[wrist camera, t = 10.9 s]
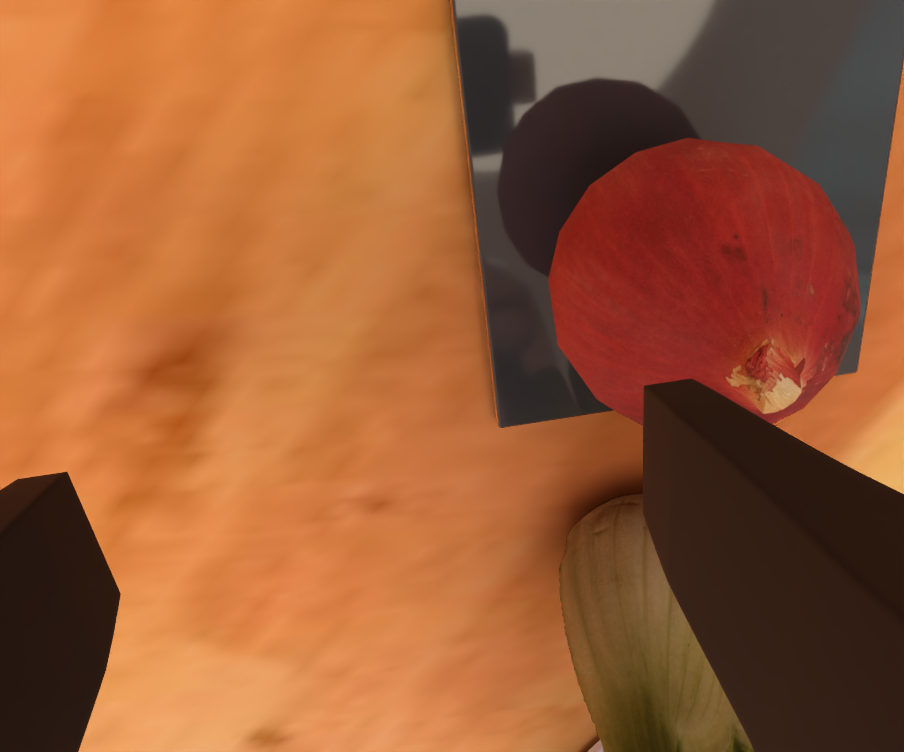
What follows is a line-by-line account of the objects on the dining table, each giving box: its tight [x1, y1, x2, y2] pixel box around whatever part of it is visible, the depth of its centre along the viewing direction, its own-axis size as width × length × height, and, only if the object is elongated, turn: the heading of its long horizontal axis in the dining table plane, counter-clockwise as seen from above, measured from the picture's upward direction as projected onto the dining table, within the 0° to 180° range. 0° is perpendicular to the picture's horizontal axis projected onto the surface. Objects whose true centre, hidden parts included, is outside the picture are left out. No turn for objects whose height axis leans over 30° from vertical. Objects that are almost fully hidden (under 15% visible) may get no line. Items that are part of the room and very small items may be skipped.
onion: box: [548, 138, 861, 425], centre depth 16 cm, size 6×6×8 cm
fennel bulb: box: [559, 493, 754, 752], centre depth 20 cm, size 6×5×12 cm
